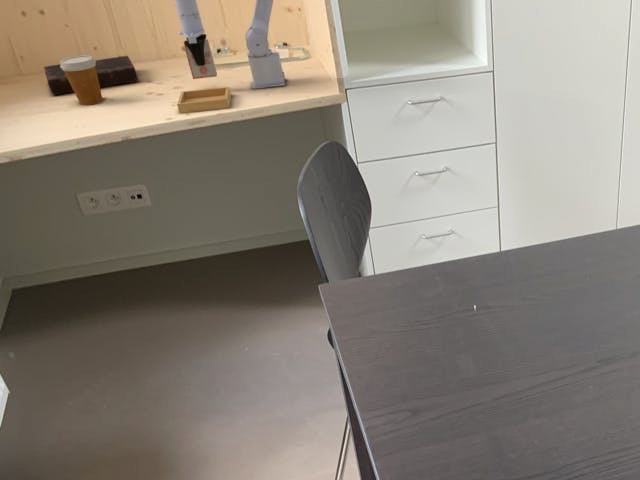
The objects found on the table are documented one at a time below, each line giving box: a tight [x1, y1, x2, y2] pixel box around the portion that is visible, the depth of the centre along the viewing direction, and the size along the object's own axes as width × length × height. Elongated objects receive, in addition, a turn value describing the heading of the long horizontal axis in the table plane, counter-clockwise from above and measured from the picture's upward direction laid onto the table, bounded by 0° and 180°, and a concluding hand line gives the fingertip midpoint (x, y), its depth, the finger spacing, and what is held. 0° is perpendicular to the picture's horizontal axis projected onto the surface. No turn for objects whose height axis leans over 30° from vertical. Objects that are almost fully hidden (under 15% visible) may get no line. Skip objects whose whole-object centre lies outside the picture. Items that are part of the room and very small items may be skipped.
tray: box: [176, 86, 232, 114], centre depth 227 cm, size 14×13×2 cm
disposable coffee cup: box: [60, 54, 103, 106], centre depth 230 cm, size 10×10×12 cm
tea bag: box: [183, 38, 218, 80], centre depth 232 cm, size 4×7×10 cm, turn 106°
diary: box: [43, 55, 140, 96], centre depth 249 cm, size 19×25×5 cm
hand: (202, 63), depth 233 cm, fingers closed on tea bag, 4 cm apart
